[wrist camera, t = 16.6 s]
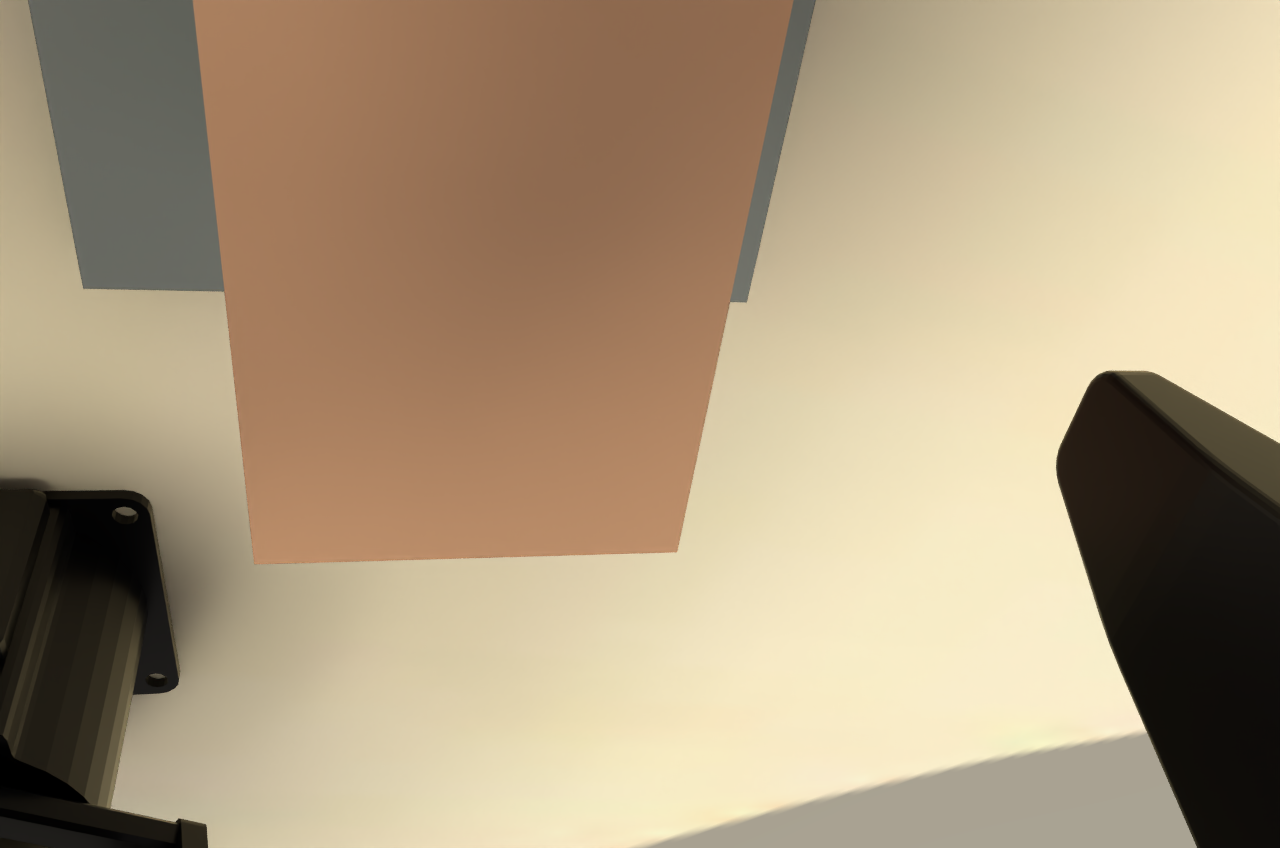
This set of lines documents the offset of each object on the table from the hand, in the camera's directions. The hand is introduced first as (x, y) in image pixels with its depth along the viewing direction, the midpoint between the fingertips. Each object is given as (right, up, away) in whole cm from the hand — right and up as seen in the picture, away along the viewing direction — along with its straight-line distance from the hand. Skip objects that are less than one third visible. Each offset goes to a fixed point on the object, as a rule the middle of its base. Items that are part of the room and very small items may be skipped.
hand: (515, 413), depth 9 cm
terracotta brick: (-1, +5, +6) cm, 8 cm away
